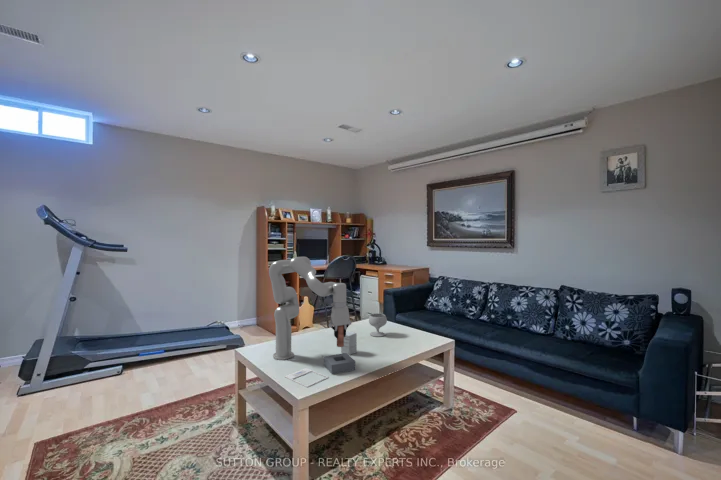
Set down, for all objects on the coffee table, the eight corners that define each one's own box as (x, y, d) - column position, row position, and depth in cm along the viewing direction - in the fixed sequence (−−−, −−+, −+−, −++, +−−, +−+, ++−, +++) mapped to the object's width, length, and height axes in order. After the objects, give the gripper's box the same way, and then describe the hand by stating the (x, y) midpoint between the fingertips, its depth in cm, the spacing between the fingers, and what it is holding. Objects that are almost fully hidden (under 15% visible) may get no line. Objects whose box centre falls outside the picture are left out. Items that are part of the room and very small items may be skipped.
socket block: (323, 364, 184) (323, 356, 184) (346, 361, 189) (346, 352, 189) (331, 374, 171) (331, 365, 171) (355, 370, 177) (355, 361, 177)
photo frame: (306, 367, 178) (328, 376, 167) (306, 369, 178) (328, 378, 167) (284, 375, 167) (306, 386, 155) (284, 378, 167) (306, 388, 155)
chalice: (367, 332, 249) (367, 313, 249) (384, 331, 251) (384, 312, 251) (370, 337, 235) (370, 317, 235) (388, 337, 238) (389, 317, 238)
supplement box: (348, 349, 209) (348, 330, 209) (356, 352, 205) (357, 332, 205) (340, 352, 204) (340, 333, 204) (349, 355, 199) (349, 335, 199)
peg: (335, 345, 181) (335, 320, 181) (342, 344, 183) (342, 320, 183) (338, 347, 177) (337, 322, 177) (344, 346, 179) (344, 321, 179)
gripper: (327, 307, 173) (328, 340, 173) (355, 304, 180) (356, 336, 180) (323, 305, 180) (324, 337, 180) (350, 302, 187) (351, 333, 187)
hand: (340, 336), depth 180 cm, fingers closed on peg, 4 cm apart
